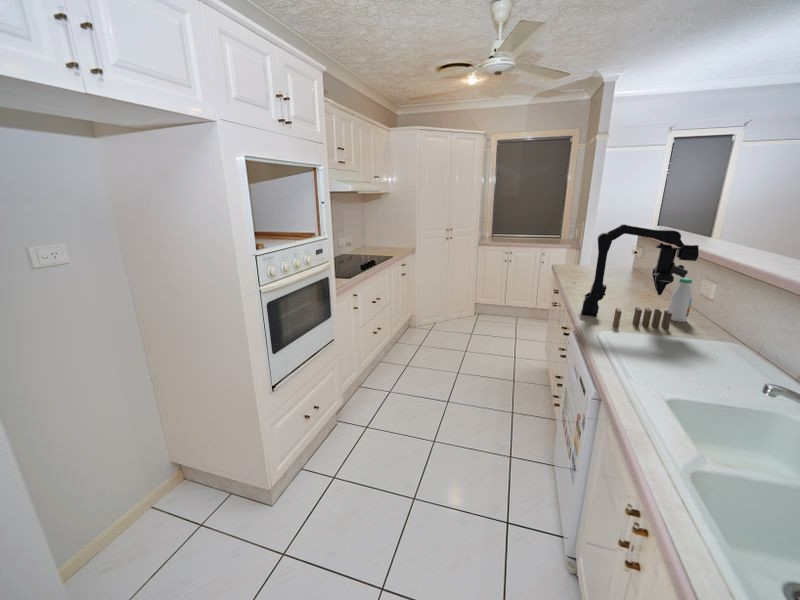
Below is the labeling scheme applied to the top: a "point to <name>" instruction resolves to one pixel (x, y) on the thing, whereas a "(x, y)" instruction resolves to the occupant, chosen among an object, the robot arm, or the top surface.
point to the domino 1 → (617, 317)
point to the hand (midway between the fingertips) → (658, 292)
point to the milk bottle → (681, 301)
